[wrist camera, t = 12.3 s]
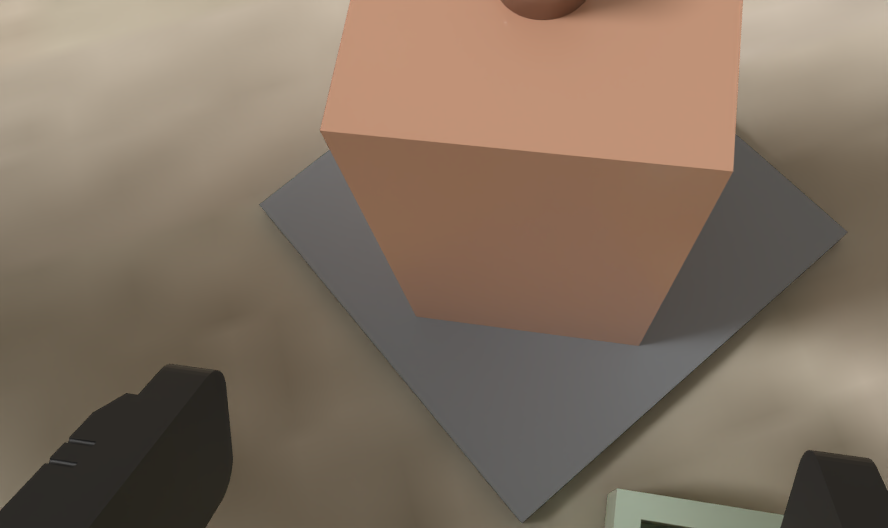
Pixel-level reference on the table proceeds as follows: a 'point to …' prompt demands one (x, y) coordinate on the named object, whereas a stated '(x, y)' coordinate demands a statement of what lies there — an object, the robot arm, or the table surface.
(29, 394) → the table surface
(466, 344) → the mat
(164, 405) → the robot arm
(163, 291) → the table surface
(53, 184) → the table surface
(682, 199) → the tan rectangular block
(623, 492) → the dish
